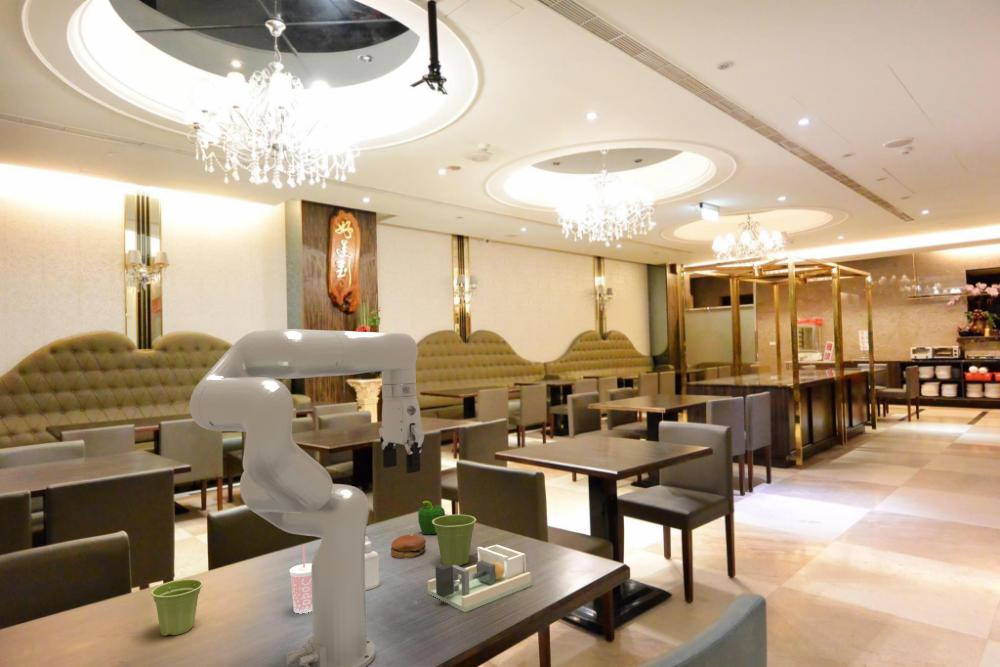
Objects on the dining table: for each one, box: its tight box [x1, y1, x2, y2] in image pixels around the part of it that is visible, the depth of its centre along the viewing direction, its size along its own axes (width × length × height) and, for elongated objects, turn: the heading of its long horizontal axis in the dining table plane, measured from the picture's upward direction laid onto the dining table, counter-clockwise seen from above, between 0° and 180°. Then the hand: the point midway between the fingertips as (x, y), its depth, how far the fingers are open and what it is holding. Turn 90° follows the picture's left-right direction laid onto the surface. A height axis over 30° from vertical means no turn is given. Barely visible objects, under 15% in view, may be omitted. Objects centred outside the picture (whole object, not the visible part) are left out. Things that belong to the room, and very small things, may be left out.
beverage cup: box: [289, 544, 312, 615], centre depth 128 cm, size 6×6×14 cm
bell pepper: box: [417, 500, 446, 535], centre depth 181 cm, size 8×8×10 cm
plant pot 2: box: [432, 514, 477, 567], centre depth 154 cm, size 12×12×11 cm
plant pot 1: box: [150, 578, 204, 637], centre depth 120 cm, size 9×9×9 cm
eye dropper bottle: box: [365, 536, 380, 591], centre depth 139 cm, size 4×6×12 cm
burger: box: [390, 533, 427, 559], centre depth 163 cm, size 10×9×5 cm
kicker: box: [435, 560, 496, 597], centre depth 132 cm, size 14×5×6 cm, turn 131°
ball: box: [491, 562, 504, 580], centre depth 138 cm, size 4×4×4 cm
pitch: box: [427, 544, 532, 613], centre depth 135 cm, size 20×14×8 cm
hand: (401, 469), depth 127 cm, fingers open, 9 cm apart
